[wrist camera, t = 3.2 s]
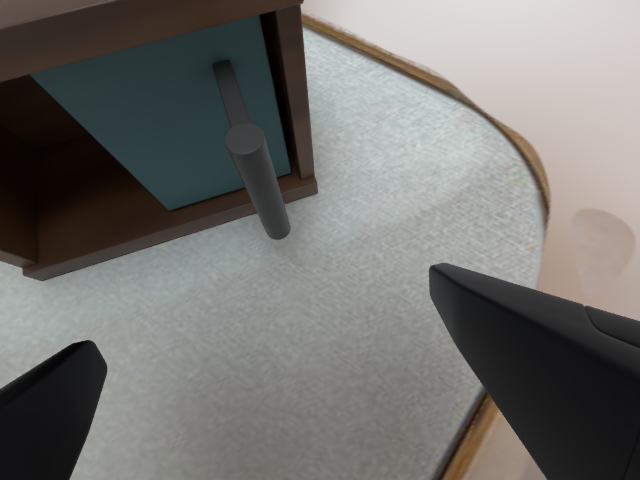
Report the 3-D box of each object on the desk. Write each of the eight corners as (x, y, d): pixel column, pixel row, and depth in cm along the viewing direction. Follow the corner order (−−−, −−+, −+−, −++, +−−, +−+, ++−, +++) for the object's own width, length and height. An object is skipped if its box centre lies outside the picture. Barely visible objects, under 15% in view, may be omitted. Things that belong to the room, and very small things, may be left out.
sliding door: (316, 241, 21) (302, 114, 10) (183, 285, 20) (21, 196, 9) (288, 164, 23) (252, -7, 12) (167, 201, 22) (20, 52, 12)
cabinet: (318, 193, 24) (300, -46, 10) (41, 281, 22) (-444, 137, 8) (276, 87, 28) (223, -191, 14) (38, 155, 26) (-296, -88, 12)
